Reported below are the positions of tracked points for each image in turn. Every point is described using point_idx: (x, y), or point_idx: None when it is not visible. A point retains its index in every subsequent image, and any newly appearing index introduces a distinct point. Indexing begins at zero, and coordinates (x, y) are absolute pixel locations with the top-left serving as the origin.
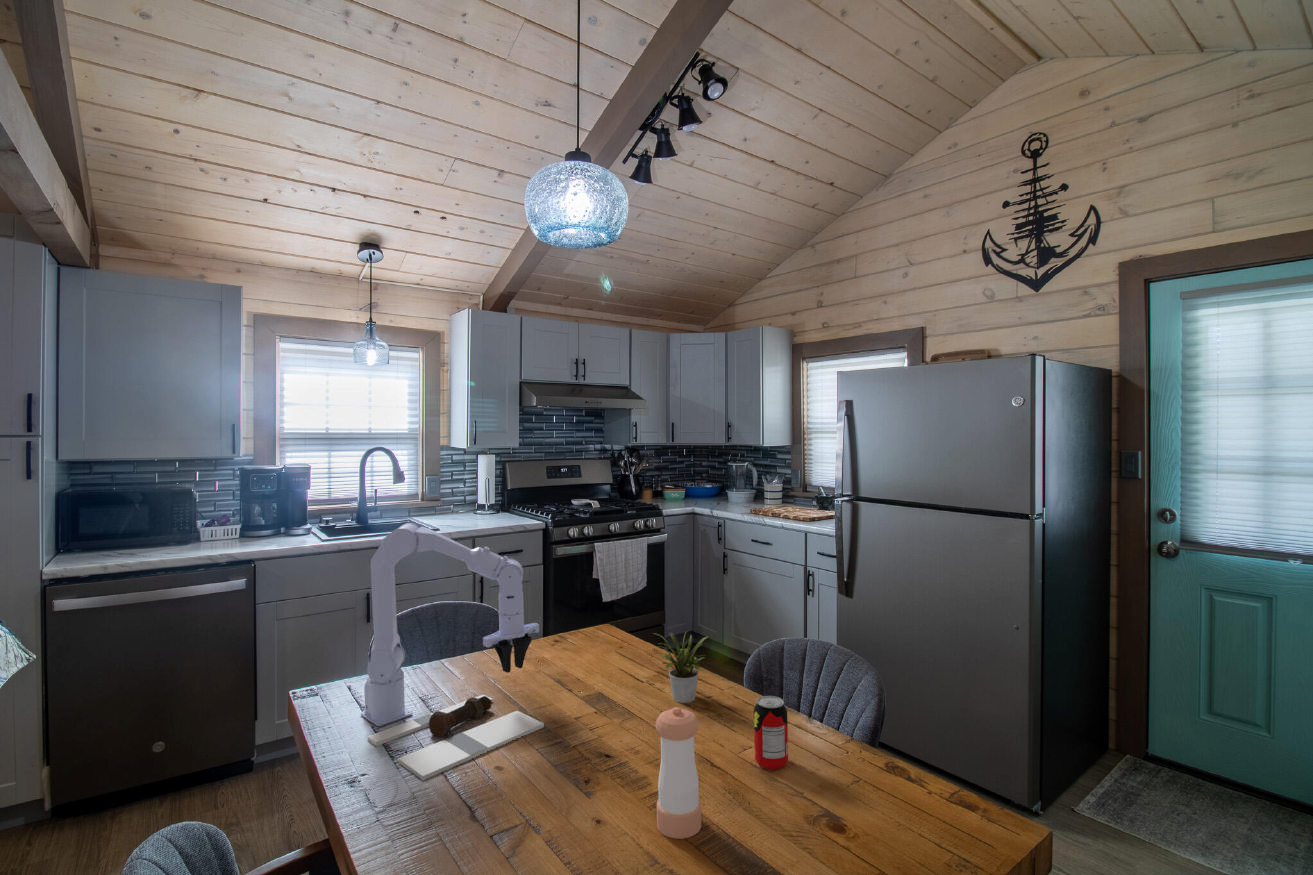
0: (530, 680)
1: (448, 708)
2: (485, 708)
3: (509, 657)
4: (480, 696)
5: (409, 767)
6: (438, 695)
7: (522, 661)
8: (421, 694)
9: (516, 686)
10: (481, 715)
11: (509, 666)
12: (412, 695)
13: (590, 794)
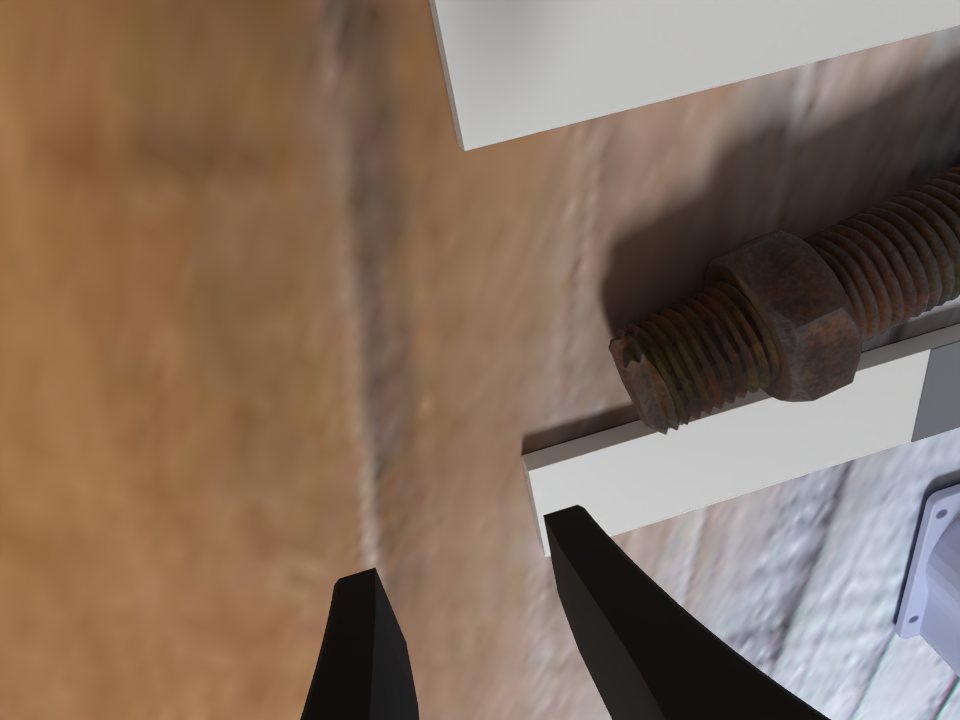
0: (142, 664)
1: (803, 461)
2: (682, 304)
3: (683, 689)
4: None
5: None
6: None
7: (346, 650)
8: None
9: (275, 613)
10: (712, 260)
11: (595, 562)
12: (786, 683)
13: None
